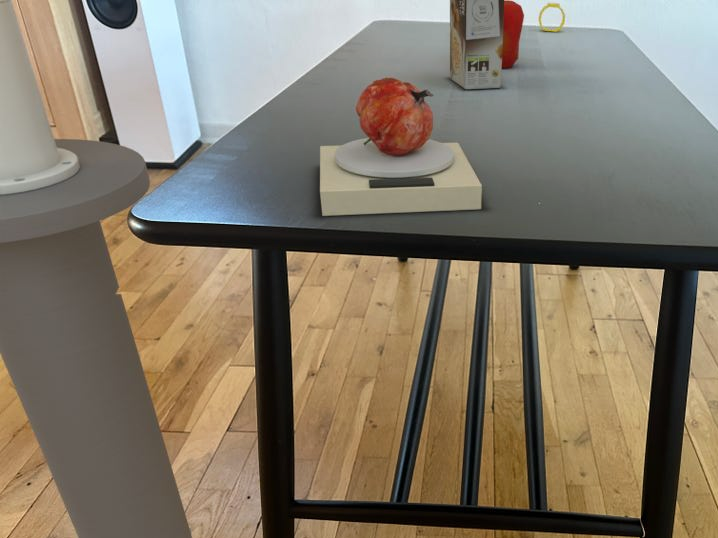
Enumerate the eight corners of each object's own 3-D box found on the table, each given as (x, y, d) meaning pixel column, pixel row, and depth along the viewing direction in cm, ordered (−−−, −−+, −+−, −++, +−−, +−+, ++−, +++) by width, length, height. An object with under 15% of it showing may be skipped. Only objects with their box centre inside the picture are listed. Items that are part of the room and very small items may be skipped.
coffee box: (502, 88, 110) (507, -27, 101) (464, 90, 108) (466, -27, 99) (483, 76, 117) (486, -32, 108) (447, 78, 116) (447, -32, 107)
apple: (498, 59, 130) (500, -11, 124) (531, 66, 126) (536, -6, 119) (465, 65, 125) (466, -9, 119) (498, 72, 120) (501, -4, 114)
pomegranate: (352, 179, 69) (412, 132, 62) (322, 111, 69) (379, 56, 62) (404, 170, 74) (464, 126, 67) (377, 107, 74) (435, 55, 67)
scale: (322, 216, 64) (318, 181, 62) (322, 167, 75) (319, 137, 73) (481, 209, 66) (482, 175, 65) (457, 163, 78) (458, 134, 76)
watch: (538, 32, 161) (540, 3, 157) (537, 30, 163) (539, 2, 160) (564, 32, 161) (566, 4, 158) (562, 30, 163) (565, 2, 160)
